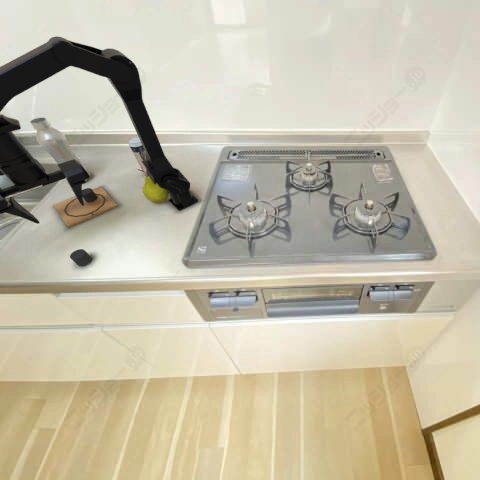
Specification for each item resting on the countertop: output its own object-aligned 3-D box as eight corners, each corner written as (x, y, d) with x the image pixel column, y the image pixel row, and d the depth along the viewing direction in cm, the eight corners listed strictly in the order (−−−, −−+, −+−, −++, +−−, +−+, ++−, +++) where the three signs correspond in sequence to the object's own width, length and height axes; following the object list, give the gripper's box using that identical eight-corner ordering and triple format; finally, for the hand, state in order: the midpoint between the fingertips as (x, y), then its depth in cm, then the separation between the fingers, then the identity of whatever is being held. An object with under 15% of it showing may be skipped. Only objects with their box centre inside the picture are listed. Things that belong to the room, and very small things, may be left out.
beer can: (155, 176, 94) (139, 144, 86) (141, 176, 94) (124, 143, 86) (161, 168, 98) (146, 136, 89) (147, 168, 98) (131, 136, 89)
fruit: (166, 190, 90) (150, 157, 81) (177, 199, 87) (161, 166, 78) (145, 200, 86) (126, 166, 77) (155, 210, 83) (136, 176, 74)
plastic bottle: (96, 179, 93) (56, 119, 78) (74, 188, 89) (27, 128, 74) (89, 171, 96) (48, 113, 81) (67, 180, 92) (20, 120, 77)
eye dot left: (94, 261, 70) (87, 253, 68) (80, 268, 68) (72, 261, 66) (89, 254, 71) (82, 247, 69) (75, 261, 70) (67, 254, 67)
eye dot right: (99, 199, 85) (93, 191, 83) (87, 203, 83) (81, 196, 81) (95, 194, 87) (89, 186, 84) (84, 199, 85) (78, 191, 83)
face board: (117, 206, 84) (116, 204, 83) (69, 227, 77) (67, 226, 77) (101, 187, 90) (100, 185, 89) (55, 206, 83) (53, 204, 83)
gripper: (53, 126, 64) (93, 182, 75) (-58, 156, 54) (6, 215, 66) (68, 144, 58) (107, 202, 70) (-53, 180, 49) (15, 239, 61)
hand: (61, 213), depth 67 cm, fingers open, 9 cm apart
